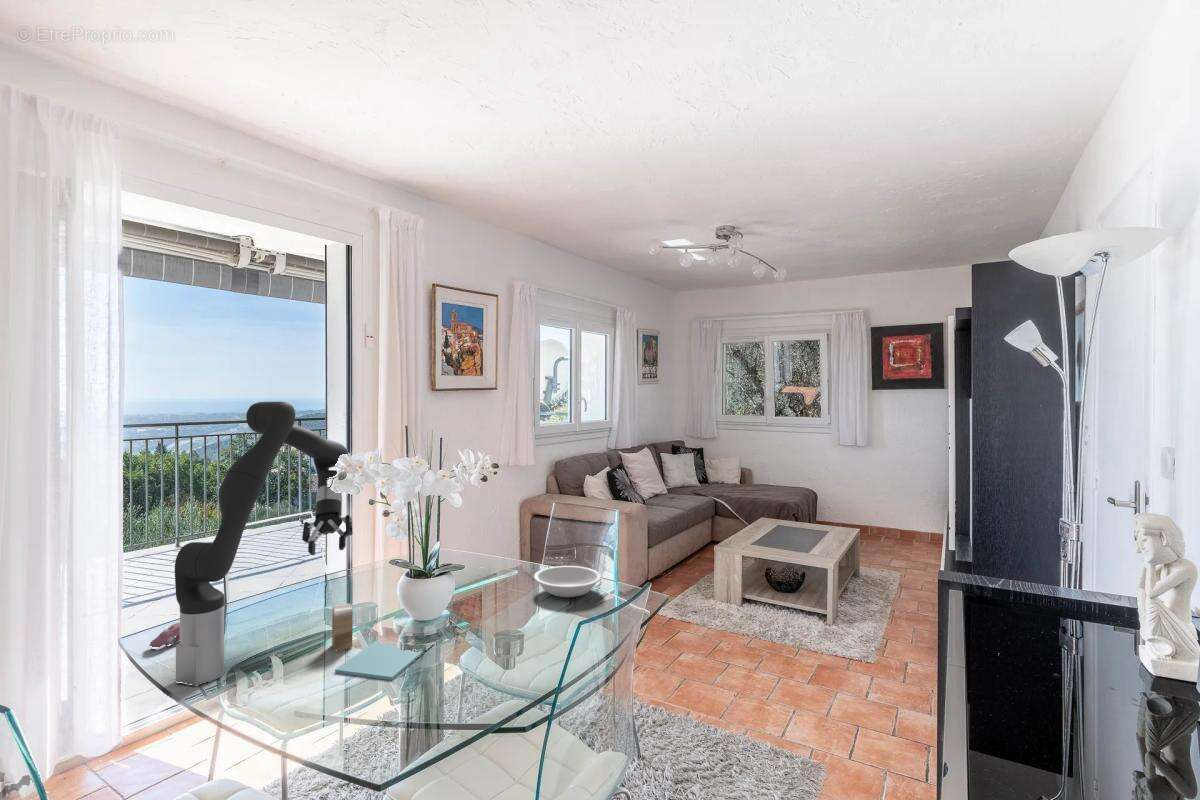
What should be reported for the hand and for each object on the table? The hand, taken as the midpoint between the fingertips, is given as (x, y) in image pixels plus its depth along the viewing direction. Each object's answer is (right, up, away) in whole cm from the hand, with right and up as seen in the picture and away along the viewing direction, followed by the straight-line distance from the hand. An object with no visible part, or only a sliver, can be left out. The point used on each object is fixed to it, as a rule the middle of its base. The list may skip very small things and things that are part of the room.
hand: (326, 552), depth 183 cm
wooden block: (+11, -23, -15) cm, 29 cm away
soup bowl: (+72, -23, +31) cm, 81 cm away
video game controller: (-36, -22, -15) cm, 45 cm away
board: (+26, -23, -22) cm, 41 cm away
